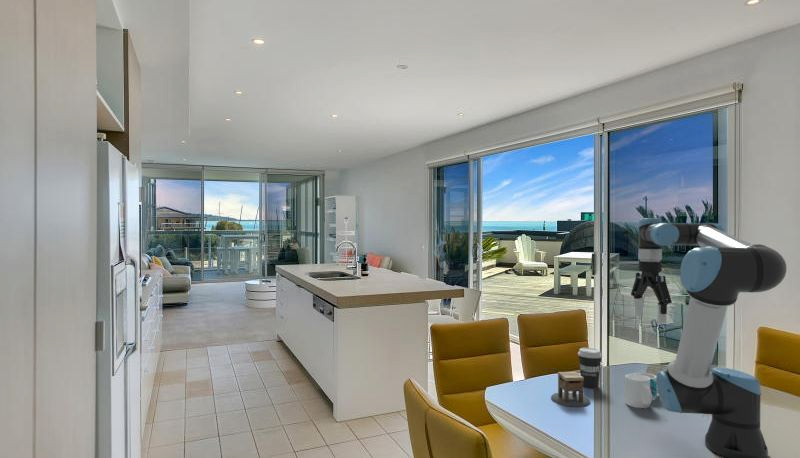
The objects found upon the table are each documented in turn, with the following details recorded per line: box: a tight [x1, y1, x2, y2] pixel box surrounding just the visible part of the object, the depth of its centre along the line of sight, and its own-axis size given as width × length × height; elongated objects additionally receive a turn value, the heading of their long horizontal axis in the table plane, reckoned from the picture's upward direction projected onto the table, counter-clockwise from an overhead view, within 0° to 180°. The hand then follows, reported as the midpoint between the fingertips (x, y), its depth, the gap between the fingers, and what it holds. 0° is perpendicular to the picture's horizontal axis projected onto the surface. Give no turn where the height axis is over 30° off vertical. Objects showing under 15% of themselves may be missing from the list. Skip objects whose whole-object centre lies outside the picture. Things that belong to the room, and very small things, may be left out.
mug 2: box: [633, 371, 659, 401], centre depth 184 cm, size 8×12×8 cm
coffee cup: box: [577, 347, 603, 390], centre depth 196 cm, size 10×10×15 cm
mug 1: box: [624, 373, 653, 409], centre depth 173 cm, size 12×8×10 cm
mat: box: [550, 391, 591, 408], centre depth 180 cm, size 14×14×1 cm
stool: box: [557, 371, 584, 402], centre depth 180 cm, size 7×7×9 cm
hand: (650, 319), depth 171 cm, fingers open, 13 cm apart
